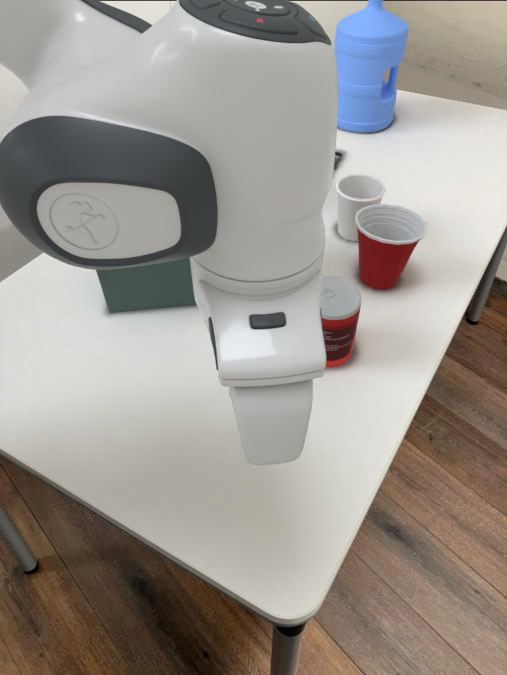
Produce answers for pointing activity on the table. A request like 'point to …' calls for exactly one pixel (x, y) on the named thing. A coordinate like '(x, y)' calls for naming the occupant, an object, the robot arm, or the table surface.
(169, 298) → the bin
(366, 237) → the plastic cup
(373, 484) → the table surface
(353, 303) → the canned food
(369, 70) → the water jug
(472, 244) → the table surface
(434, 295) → the table surface
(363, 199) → the dixie cup
